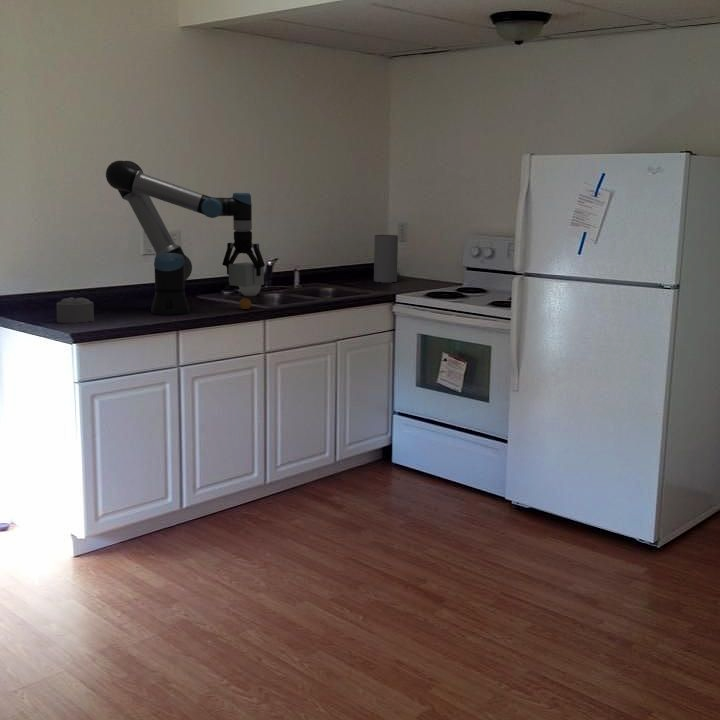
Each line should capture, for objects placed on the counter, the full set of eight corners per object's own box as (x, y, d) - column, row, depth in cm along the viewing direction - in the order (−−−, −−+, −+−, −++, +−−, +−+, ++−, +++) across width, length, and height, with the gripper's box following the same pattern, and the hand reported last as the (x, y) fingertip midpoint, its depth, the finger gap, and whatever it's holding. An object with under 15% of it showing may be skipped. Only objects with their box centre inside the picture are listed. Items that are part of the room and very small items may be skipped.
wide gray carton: (246, 286, 370) (245, 265, 368) (229, 285, 376) (228, 264, 375) (264, 284, 378) (263, 263, 376) (246, 283, 384) (246, 262, 383)
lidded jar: (234, 296, 420) (234, 275, 418) (245, 293, 429) (245, 273, 428) (254, 297, 416) (254, 277, 414) (265, 294, 426) (265, 275, 424)
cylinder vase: (401, 282, 489) (402, 235, 484) (386, 283, 480) (387, 236, 475) (384, 280, 497) (385, 234, 492) (369, 281, 488) (369, 235, 483)
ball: (255, 304, 377) (248, 313, 374) (245, 303, 379) (239, 311, 377) (251, 296, 373) (244, 304, 371) (241, 294, 376) (235, 302, 373)
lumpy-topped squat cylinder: (96, 321, 340) (95, 298, 338) (62, 324, 332) (61, 301, 330) (86, 318, 348) (85, 295, 346) (52, 320, 340) (51, 298, 338)
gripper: (272, 231, 371) (273, 283, 375) (222, 229, 379) (223, 281, 384) (263, 231, 364) (264, 285, 368) (213, 230, 373) (214, 282, 377)
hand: (243, 283), depth 376 cm, fingers closed on wide gray carton, 11 cm apart
